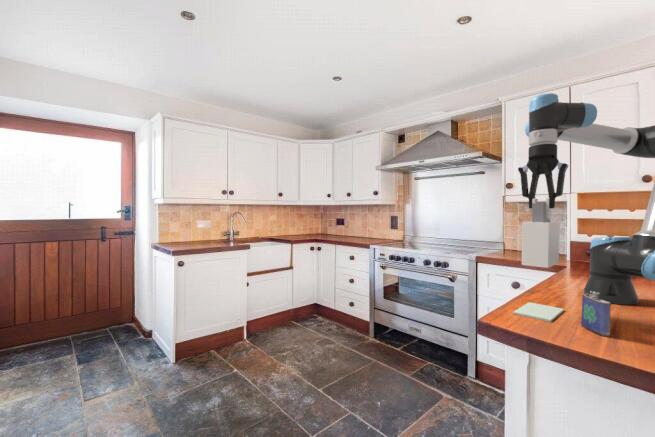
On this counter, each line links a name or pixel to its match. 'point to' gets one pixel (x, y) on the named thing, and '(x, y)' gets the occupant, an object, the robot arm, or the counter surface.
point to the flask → (595, 314)
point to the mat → (539, 311)
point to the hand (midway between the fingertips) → (541, 218)
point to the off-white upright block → (540, 239)
